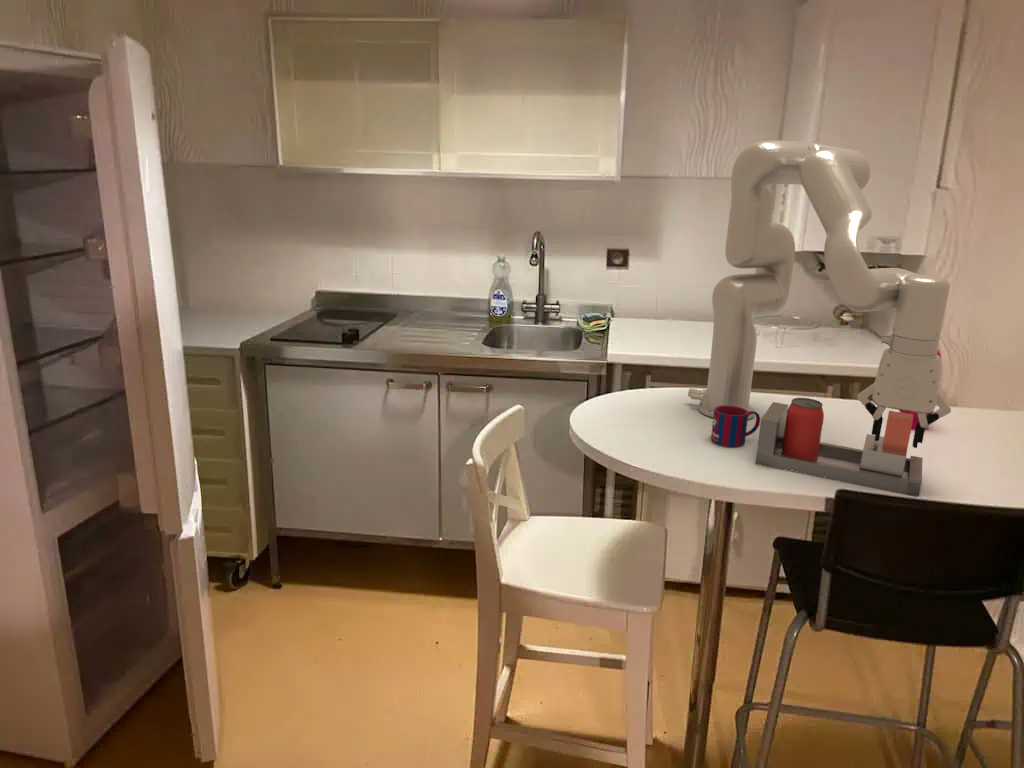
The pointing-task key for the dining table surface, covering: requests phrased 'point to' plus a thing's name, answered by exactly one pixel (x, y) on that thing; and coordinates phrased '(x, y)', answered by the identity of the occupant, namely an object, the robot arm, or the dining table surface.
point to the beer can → (803, 429)
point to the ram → (888, 446)
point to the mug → (731, 425)
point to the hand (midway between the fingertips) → (895, 441)
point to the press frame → (773, 442)
